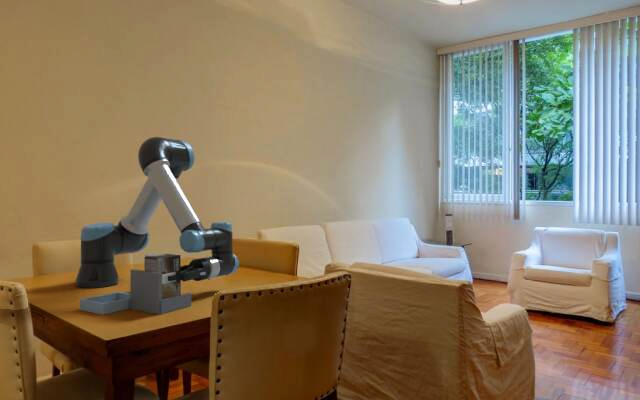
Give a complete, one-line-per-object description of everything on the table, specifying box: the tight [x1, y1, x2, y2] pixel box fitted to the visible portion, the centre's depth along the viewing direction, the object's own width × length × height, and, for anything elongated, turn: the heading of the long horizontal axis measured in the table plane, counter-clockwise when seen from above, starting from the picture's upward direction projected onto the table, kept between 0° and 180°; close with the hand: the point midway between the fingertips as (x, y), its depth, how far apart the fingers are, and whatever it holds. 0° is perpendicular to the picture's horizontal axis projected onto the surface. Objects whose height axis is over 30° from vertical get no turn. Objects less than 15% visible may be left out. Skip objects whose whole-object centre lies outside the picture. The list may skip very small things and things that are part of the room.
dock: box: [129, 269, 192, 315], centre depth 145 cm, size 13×13×12 cm
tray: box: [79, 291, 130, 316], centre depth 144 cm, size 11×14×3 cm
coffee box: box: [144, 253, 182, 299], centre depth 146 cm, size 9×6×16 cm
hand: (149, 278), depth 141 cm, fingers closed on coffee box, 7 cm apart
